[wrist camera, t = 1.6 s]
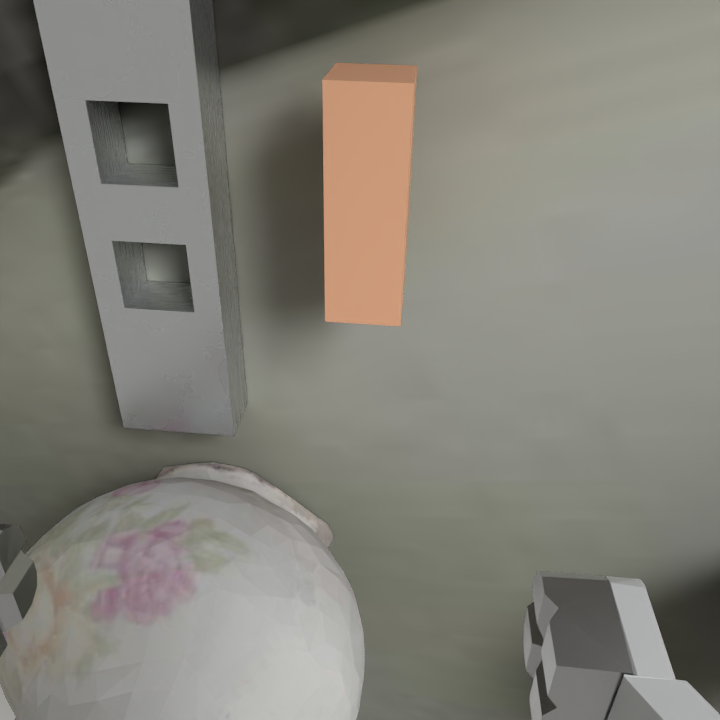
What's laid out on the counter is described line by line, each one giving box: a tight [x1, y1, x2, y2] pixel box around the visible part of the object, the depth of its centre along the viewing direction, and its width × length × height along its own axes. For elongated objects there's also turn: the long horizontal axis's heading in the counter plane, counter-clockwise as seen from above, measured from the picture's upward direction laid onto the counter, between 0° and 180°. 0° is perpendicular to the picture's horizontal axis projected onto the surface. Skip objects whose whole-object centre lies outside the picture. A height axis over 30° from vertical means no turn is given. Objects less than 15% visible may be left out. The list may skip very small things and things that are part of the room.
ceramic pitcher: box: [0, 462, 365, 720], centre depth 34 cm, size 22×20×25 cm
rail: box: [33, 0, 247, 436], centre depth 31 cm, size 24×6×3 cm, turn 179°
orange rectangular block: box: [322, 63, 417, 326], centre depth 27 cm, size 9×3×7 cm, turn 179°
